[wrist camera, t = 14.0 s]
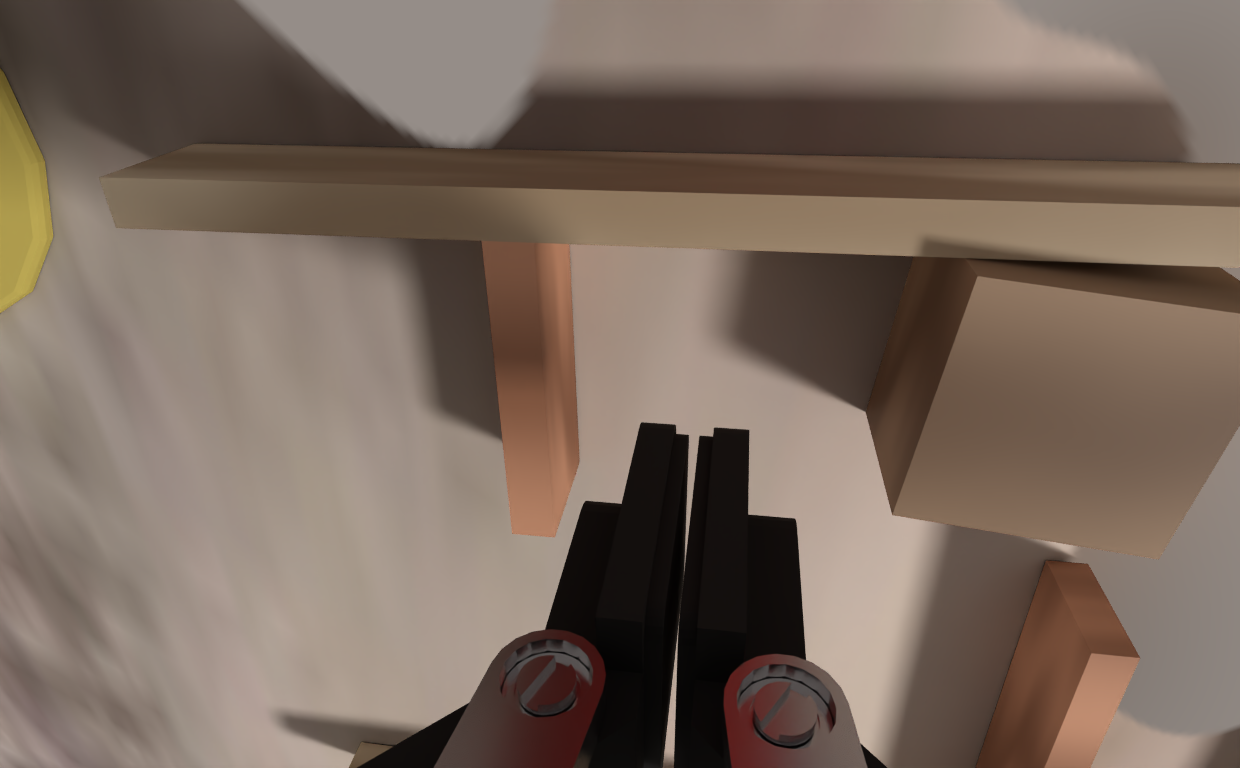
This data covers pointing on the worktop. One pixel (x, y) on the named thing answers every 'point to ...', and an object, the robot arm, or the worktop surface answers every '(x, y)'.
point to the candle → (20, 203)
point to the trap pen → (730, 220)
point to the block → (1057, 397)
